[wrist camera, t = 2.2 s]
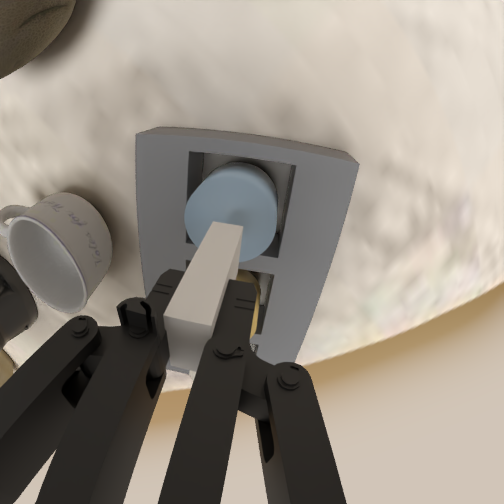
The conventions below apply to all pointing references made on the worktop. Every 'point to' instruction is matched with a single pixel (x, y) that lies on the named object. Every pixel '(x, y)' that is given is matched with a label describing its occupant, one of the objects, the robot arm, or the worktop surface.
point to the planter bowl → (5, 367)
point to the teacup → (58, 248)
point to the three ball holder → (285, 242)
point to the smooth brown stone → (29, 29)
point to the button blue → (235, 206)
